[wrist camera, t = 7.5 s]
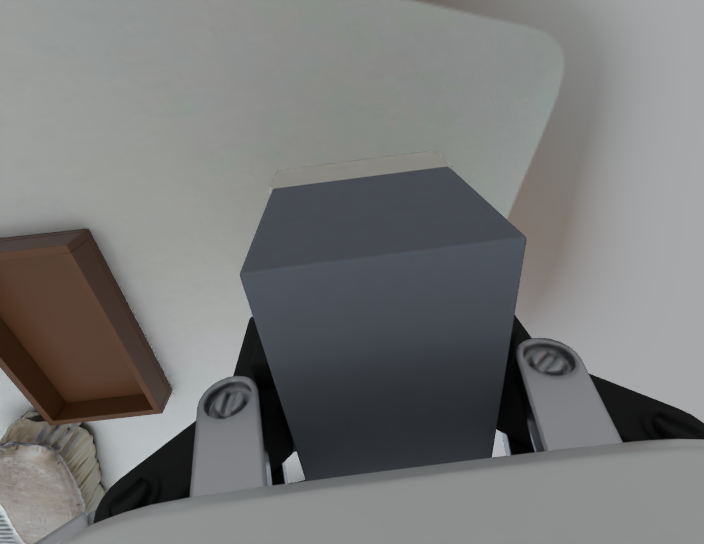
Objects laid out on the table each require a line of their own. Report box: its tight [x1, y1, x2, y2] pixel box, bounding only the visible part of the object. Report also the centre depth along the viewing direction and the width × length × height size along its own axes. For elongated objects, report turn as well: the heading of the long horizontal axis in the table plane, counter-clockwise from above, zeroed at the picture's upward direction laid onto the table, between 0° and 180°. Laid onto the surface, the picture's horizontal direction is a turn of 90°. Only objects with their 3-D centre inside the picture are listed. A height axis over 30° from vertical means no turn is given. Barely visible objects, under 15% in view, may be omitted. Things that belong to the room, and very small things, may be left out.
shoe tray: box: [0, 229, 172, 426], centre depth 29 cm, size 17×10×3 cm, turn 5°
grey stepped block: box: [240, 151, 526, 481], centre depth 10 cm, size 11×4×6 cm, turn 6°
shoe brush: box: [0, 412, 105, 544], centre depth 39 cm, size 24×8×5 cm, turn 170°
